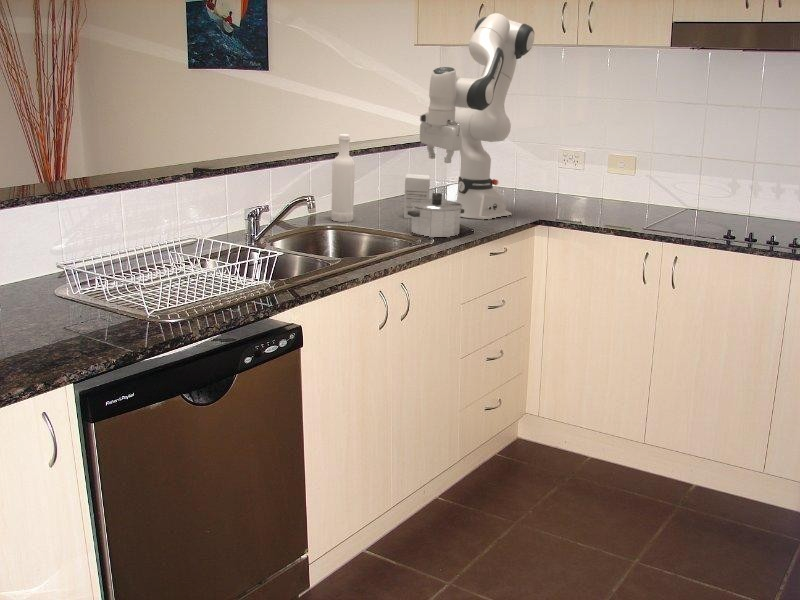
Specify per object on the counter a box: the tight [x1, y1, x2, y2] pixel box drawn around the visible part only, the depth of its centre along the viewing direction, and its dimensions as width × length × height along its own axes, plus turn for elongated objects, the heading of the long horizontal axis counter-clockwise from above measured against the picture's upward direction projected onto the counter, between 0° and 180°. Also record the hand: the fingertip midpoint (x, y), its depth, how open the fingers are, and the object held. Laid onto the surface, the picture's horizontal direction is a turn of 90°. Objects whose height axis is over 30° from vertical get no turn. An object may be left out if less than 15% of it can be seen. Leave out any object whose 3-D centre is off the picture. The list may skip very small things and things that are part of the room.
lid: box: [411, 192, 462, 211], centre depth 297 cm, size 17×17×6 cm
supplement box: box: [403, 173, 431, 219], centre depth 322 cm, size 9×9×15 cm
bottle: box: [330, 133, 356, 223], centre depth 308 cm, size 8×8×30 cm
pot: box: [408, 207, 464, 238], centre depth 299 cm, size 20×16×9 cm
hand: (439, 160), depth 293 cm, fingers open, 8 cm apart
